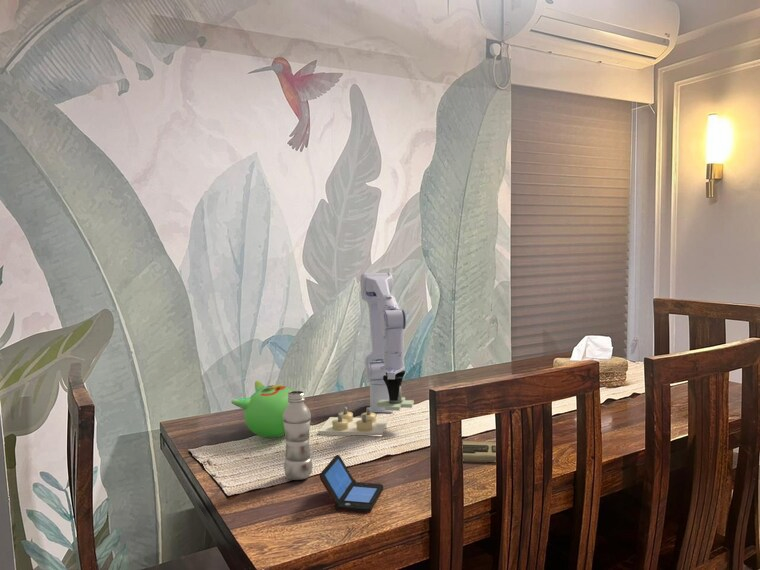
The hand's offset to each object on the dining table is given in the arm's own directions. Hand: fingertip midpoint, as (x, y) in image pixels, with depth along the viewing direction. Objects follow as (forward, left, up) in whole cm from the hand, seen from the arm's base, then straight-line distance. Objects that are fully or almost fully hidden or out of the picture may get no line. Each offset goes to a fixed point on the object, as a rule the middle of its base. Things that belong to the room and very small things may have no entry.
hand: (394, 398), depth 166 cm
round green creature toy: (+9, -34, -9) cm, 36 cm away
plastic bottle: (+37, -18, -9) cm, 42 cm away
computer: (+19, +21, -10) cm, 30 cm away
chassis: (+1, -12, -9) cm, 15 cm away
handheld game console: (+46, -3, -9) cm, 47 cm away
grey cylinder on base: (0, 0, -2) cm, 2 cm away
